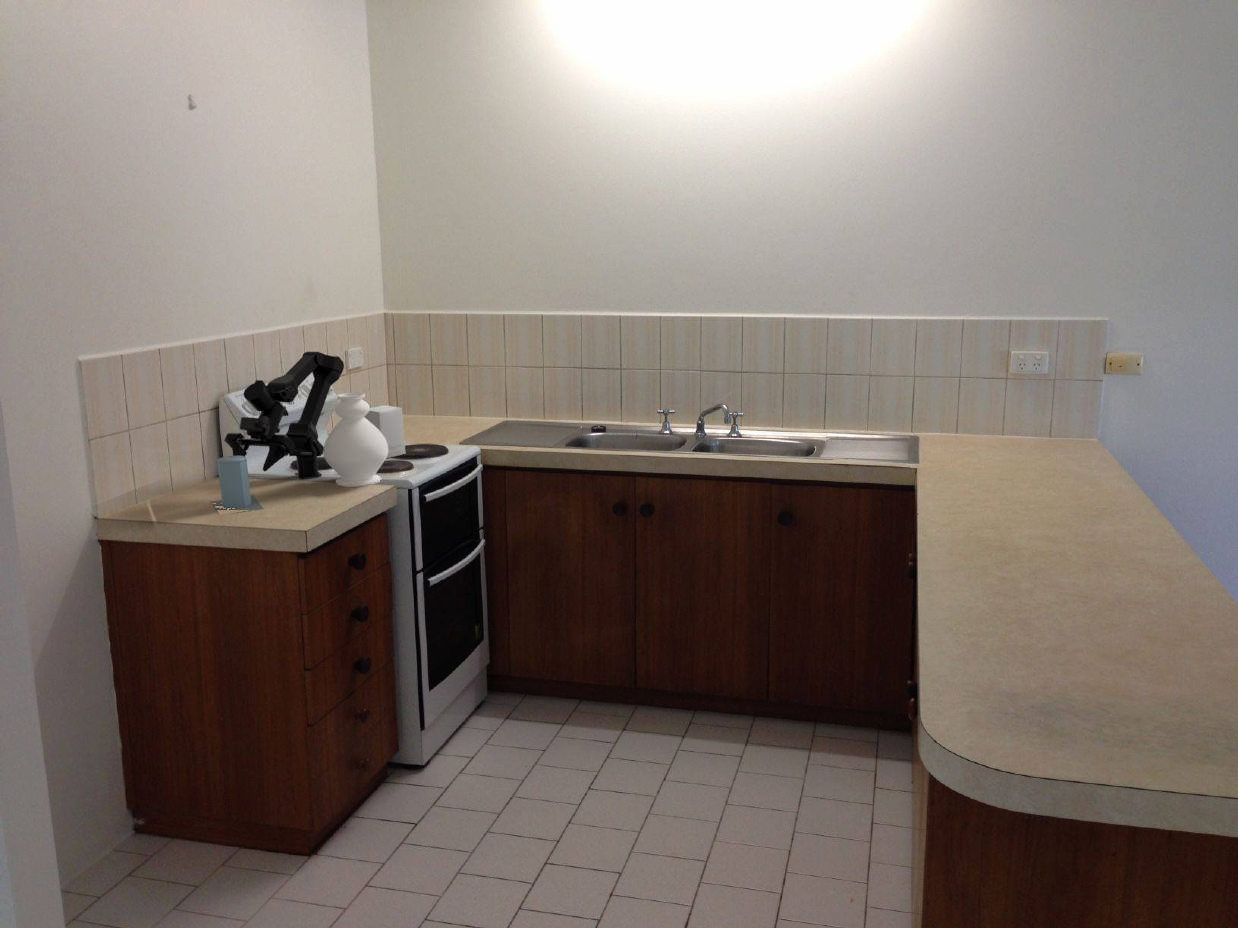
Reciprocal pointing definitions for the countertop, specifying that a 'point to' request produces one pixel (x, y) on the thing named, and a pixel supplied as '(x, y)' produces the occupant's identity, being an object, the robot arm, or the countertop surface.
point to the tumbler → (234, 481)
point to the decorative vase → (355, 443)
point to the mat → (253, 506)
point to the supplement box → (389, 427)
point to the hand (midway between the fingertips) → (249, 469)
